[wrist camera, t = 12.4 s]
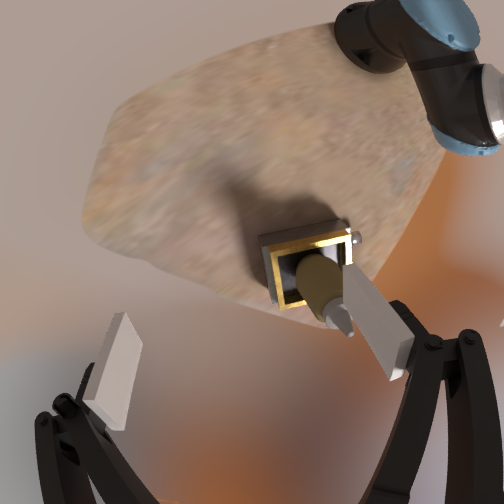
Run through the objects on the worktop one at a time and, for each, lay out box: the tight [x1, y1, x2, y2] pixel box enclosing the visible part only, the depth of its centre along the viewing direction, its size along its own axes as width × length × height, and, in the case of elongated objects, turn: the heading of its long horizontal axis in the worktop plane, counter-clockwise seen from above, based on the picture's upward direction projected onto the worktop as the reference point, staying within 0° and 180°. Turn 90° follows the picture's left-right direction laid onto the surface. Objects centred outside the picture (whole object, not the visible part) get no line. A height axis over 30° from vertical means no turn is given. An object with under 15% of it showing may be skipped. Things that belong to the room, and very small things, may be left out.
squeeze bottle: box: [295, 253, 354, 337], centre depth 42 cm, size 8×8×18 cm
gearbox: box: [258, 219, 362, 310], centre depth 51 cm, size 19×12×8 cm, turn 101°
